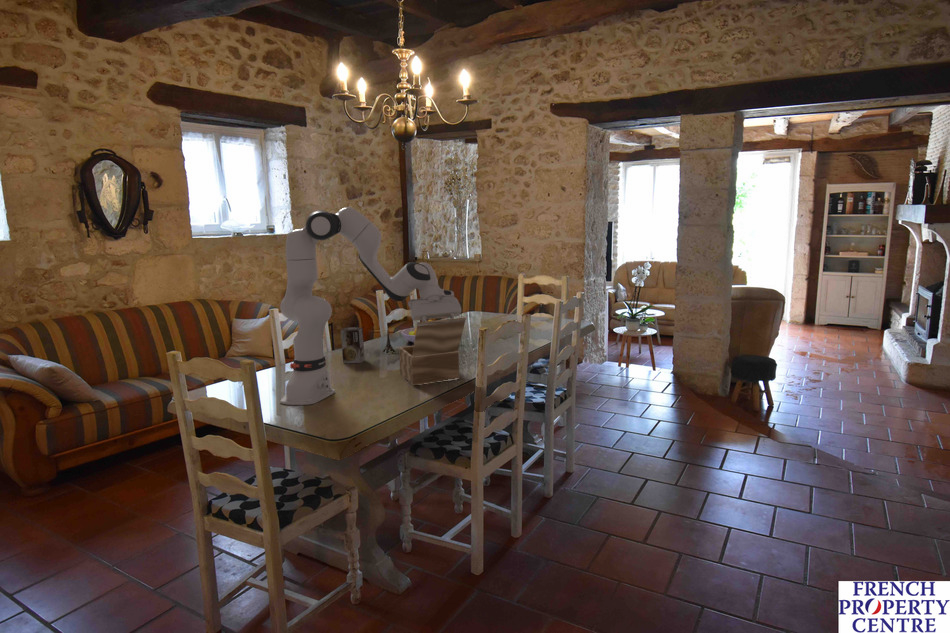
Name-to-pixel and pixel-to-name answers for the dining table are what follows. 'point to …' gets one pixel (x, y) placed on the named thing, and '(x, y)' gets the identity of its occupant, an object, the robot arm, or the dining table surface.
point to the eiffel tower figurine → (388, 344)
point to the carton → (428, 366)
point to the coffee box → (352, 345)
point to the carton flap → (438, 336)
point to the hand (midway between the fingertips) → (440, 325)
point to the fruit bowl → (410, 333)
